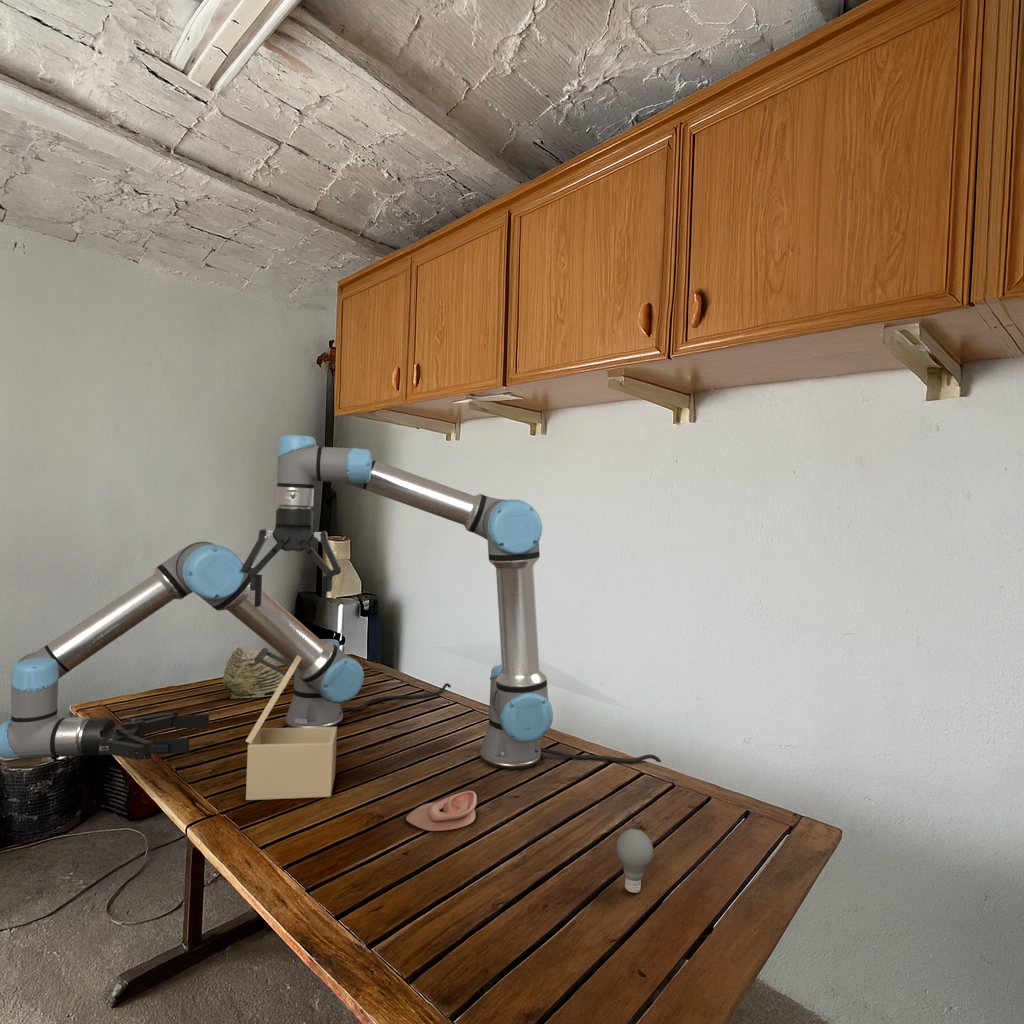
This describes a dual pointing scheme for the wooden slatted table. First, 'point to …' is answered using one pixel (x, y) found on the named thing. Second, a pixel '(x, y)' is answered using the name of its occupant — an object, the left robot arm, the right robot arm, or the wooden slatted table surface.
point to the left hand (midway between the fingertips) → (199, 732)
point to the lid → (278, 691)
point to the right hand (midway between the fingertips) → (291, 606)
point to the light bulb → (634, 857)
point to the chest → (291, 763)
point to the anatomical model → (445, 813)
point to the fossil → (250, 675)
